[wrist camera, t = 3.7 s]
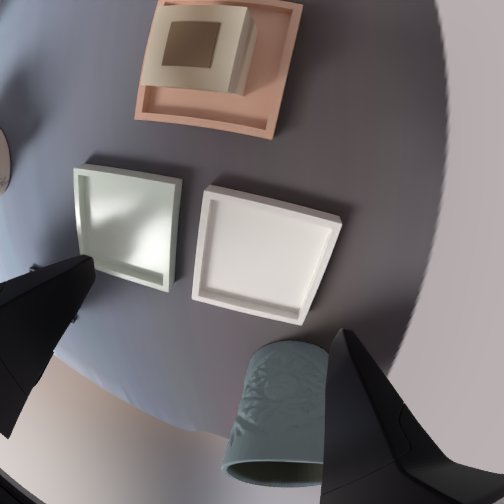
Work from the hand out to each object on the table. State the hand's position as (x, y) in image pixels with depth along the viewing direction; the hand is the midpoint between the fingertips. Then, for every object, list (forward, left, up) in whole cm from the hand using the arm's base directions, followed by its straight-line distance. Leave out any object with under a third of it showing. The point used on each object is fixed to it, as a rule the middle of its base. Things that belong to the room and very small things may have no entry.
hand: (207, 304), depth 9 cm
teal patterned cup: (+7, -16, -11) cm, 21 cm away
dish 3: (+1, -4, -11) cm, 12 cm away
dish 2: (-4, +9, -11) cm, 15 cm away
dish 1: (-10, -4, -11) cm, 15 cm away
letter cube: (-4, +9, -11) cm, 14 cm away
